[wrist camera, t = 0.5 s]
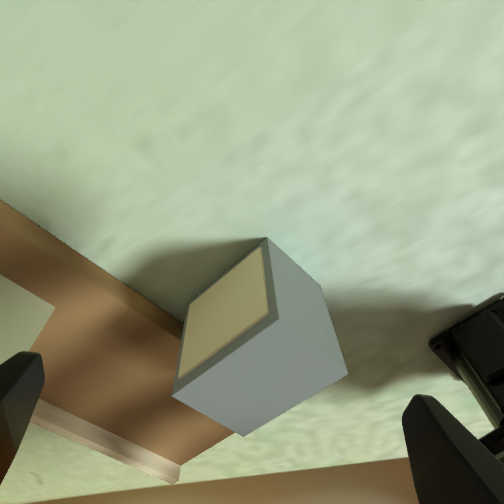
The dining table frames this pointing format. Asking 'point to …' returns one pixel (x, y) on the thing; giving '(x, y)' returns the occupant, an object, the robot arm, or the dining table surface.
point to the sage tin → (20, 318)
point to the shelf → (104, 357)
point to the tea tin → (256, 342)
